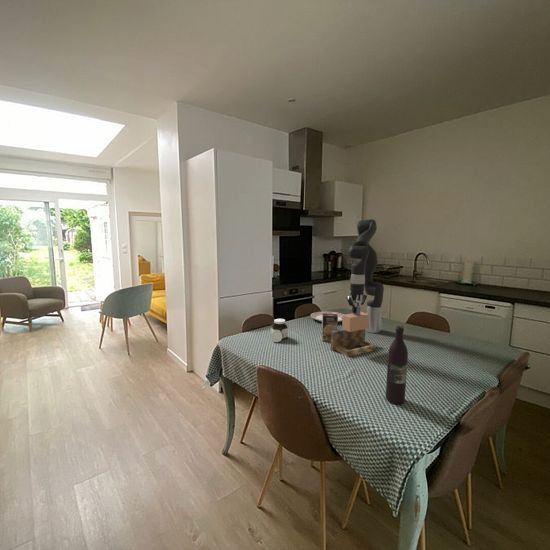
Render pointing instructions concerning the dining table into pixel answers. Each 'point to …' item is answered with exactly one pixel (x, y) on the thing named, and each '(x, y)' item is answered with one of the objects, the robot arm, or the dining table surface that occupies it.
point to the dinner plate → (319, 314)
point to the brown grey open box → (350, 342)
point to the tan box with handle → (355, 321)
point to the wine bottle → (397, 369)
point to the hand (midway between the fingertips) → (356, 312)
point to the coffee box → (328, 325)
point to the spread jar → (279, 330)
